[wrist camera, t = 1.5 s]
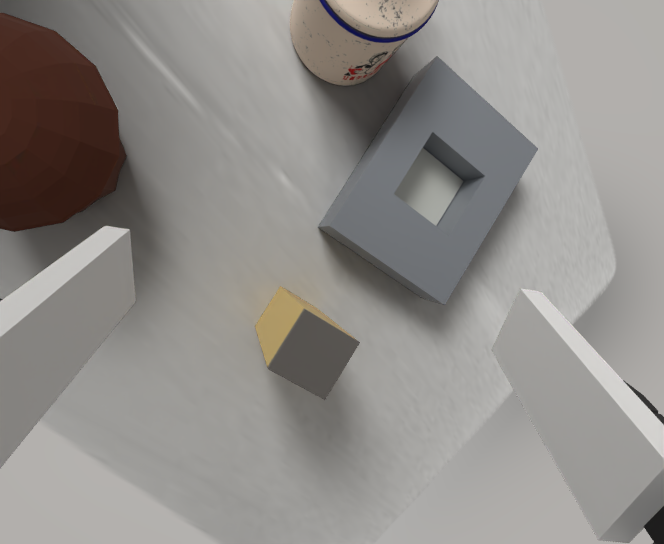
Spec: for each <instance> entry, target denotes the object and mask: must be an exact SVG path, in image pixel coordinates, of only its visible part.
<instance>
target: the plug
mask: <svg viewBox="0 0 664 544" xmlns="http://www.w3.org/2000/svg"><path fill="white" fill-rule="evenodd" d="M255 328H256V331H257V335H258V338H259V341H260V344H261V348H262V351H263V354H264V358H265V361H266V364H267V368H268V369H269V370H271V371H272V372H274V373H276V374H278V375H280V376H282V377H284V378H285V379H287V380H289V381H291V382H293V383H295V384H297V385H298V386H300V387H302V388H304V389H306V390H308V391H309V392H311V393H313V394H315V395H317V396H319V397H321V398H322V399H324V400H325V399H326V397H327V396H328V394H329V392H330V391H331V389H332V387H333V386H334V384H335V382H336V381H337V379H338V378H339V376H340V374H341V373H342V371H343V369H344V368H345V366H346V364H347V363H348V361H349V360H350V358H351V356H352V355H353V353H354V351H355V350H356V348H357V346H358V345H359V343H360V342H359V341H357V340H356V339H355V338H354V337H352V336H351V335H350V334H349V333H347V332H346V331H345V330H344V329H342V328H341V327H340V326H339V325H337V324H336V323H335V322H334V321H332V320H331V319H330V318H329V317H327V316H326V315H325V314H324V313H322V312H321V311H320V310H319V309H317V308H315V307H314V306H312V305H310V304H309V303H307V302H306V301H304V300H302V299H301V298H299V297H297V296H296V295H294V294H292V293H291V292H289V291H288V290H286V289H284V288H283V287H281V286H280V288H279V289H278V291H277V292H276V294H275V296H274V297H273V299H272V300H271V302H270V303H269V305H268V307H267V308H266V310H265V311H264V313H263V314H262V316H261V318H260V319H259V321H258V322H257V324H256V325H255Z"/></svg>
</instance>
